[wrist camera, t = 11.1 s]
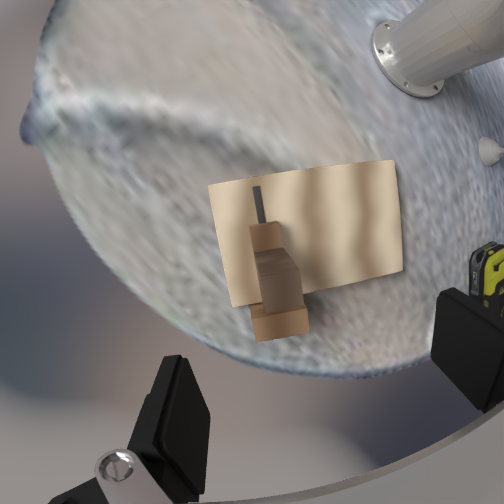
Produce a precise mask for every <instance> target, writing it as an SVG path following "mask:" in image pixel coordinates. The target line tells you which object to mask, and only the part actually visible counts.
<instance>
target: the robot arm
mask: <svg viewBox="0 0 504 504" xmlns="http://www.w3.org/2000/svg"><path fill="white" fill-rule="evenodd" d="M371 47H372V51H373V55H374V57H375V60H376V62H377V64H378V65H379V67H380V69H381V70H382V72H383V73H384V74H385V75H386V77H387V78H388V79H389V80H390V81H391V82H392V83H393V84H394V85H396V86H397V87H398V88H399V89H401V90H402V91H404V92H406V93H408V94H410V95H412V96H415V97H420V98H427V97H430V96H433V95H435V94H437V93H438V92H440V91H441V89H442V87H443V86H444V82H445V79H446V78H448V77H451V76H453V75H456V74H462V75H467V74H468V71H469V69H471V68H474V67H477V66H480V65H483V64H485V63H488V62H491V61H494V60H497V59H500V58H503V57H504V0H426V1H425V2H423V3H422V4H421V5H420V6H418V7H417V8H416V9H415V10H414V11H412V12H411V13H410V14H409V15H408V16H406V17H405V18H404V19H403V20H402V21H386V22H383V23H381V24H380V25H379V26H378V27H377V28H376V29H375V30H374V32H373V34H372V38H371ZM431 358H432V360H433V362H434V363H435V364H436V365H437V366H438V367H439V368H440V369H441V370H442V371H443V372H444V373H445V375H446V376H448V377H449V379H450V380H451V381H452V382H453V383H454V384H455V385H456V386H457V387H458V389H459V390H460V391H461V392H462V393H463V394H464V395H465V396H466V397H467V399H468V400H469V401H470V402H471V403H472V404H473V405H474V406H475V407H476V408H477V409H478V410H481V411H482V412H483V413H484V415H482V416H481V417H479V418H478V419H476V420H475V421H473V422H472V423H470V424H468V425H467V426H466V427H464V428H462V429H460V430H459V431H457V432H455V433H453V434H452V435H450V436H448V437H446V438H445V439H443V440H441V441H439V442H437V443H435V444H433V445H431V446H429V447H427V448H425V449H423V450H421V451H419V452H417V453H415V454H413V455H410V456H408V457H406V458H404V459H401V460H399V461H397V462H394V463H392V464H389V465H387V466H384V467H382V468H379V469H376V470H374V471H371V472H368V473H365V474H362V475H359V476H356V477H353V478H350V479H347V480H343V481H340V482H336V483H332V484H329V485H325V486H321V487H317V488H313V489H308V490H304V491H299V492H294V493H289V494H283V495H277V496H270V497H264V498H256V499H247V500H237V501H225V502H209V503H188V502H199V494H204V491H205V479H206V466H207V453H208V442H209V441H208V440H209V431H210V413H209V410H208V407H207V405H206V403H205V401H204V398H203V396H202V393H201V391H200V389H199V386H198V384H197V381H196V379H195V376H194V374H193V371H192V369H191V366H190V364H189V361H188V359H187V358H182V356H181V355H172V356H165V357H164V358H163V360H162V363H161V365H160V368H159V371H158V373H157V376H156V378H155V381H154V384H153V387H152V389H151V392H150V394H148V395H147V396H146V398H145V400H144V403H143V406H142V408H141V411H140V414H139V416H138V419H137V422H136V425H135V427H134V430H133V433H132V436H131V439H130V441H129V444H128V447H127V449H114V450H111V451H108V452H107V453H105V454H103V455H102V456H101V457H100V458H99V459H98V461H97V463H96V465H95V476H96V477H95V478H93V479H91V480H89V481H87V482H85V483H83V484H81V485H79V486H77V487H75V488H73V489H71V490H69V491H67V492H65V493H63V494H60V495H58V496H56V497H55V498H53V499H52V500H51V501H50V502H49V503H48V504H504V318H503V317H502V316H500V315H498V314H497V313H495V312H494V311H492V310H491V309H489V308H487V307H486V306H484V305H483V304H481V303H479V302H478V301H476V300H474V299H473V298H471V297H469V296H468V295H466V294H464V293H463V292H461V291H459V290H458V289H456V288H454V287H452V288H449V289H446V290H444V291H441V292H440V294H439V296H438V298H437V302H436V314H435V324H434V333H433V340H432V348H431ZM496 404H498V405H497V406H496Z"/></svg>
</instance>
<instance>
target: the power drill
mask: <svg viewBox="0 0 504 504" xmlns="http://www.w3.org/2000/svg"><path fill="white" fill-rule="evenodd" d="M469 297H471V298H473V299H474V300H476V301H478V302H479V303H481V304H483V305H484V306H486V307H487V308H489V309H491V310H492V311H494V312H495V313H497V314H498V315H500V316H502V317H503V318H504V245H503V244H497V243H496V242H490V243H488V244H486V245H485V246H483V247H481V248H479V249H477V250H476V251H474V252H473V253H472V255H471V258H470V263H469Z"/></svg>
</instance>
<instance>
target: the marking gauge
mask: <svg viewBox="0 0 504 504" xmlns="http://www.w3.org/2000/svg"><path fill="white" fill-rule="evenodd" d="M249 231H250V236H251V242H252V247H253V253H254V258H255V264H256V269H257V275H258V280H259V286H260V291H261V297H262V302H259V303H254V304H250V311H251V319H252V324H253V329H254V334H255V339H256V343H258V342H263V341H268V340H274V339H279V338H284V337H289V336H293V335H298V334H303V333H307V332H310V331H309V321H308V312H307V307H306V305H305V304H304V299H303V291H302V283H301V275H300V269H299V268H298V267H297V265H296V264H295V263H294V261H293V260H292V259H291V257H290V256H289V255H288V253H287V252H286V251H285V249H284V248H283V244H282V238H281V232H280V226H279V223H278V222H277V221H272V222H266V223H261V224H255V225H250V226H249Z"/></svg>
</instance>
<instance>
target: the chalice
mask: <svg viewBox="0 0 504 504" xmlns="http://www.w3.org/2000/svg"><path fill="white" fill-rule="evenodd" d="M478 150H479V155H480V158H481V160H482V162H483V163H484V164H485V165H486V166H491V165H492V164H494V163H495V162H497V161H498V160H499V159H500V156H501V154H502V153H503V154H504V147H503V148H500V147H499V145H498V144H497V142H496V141H495V140H492V139H490V138H488V137H486V136H483V137H481V138H480V140H479V144H478Z"/></svg>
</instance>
